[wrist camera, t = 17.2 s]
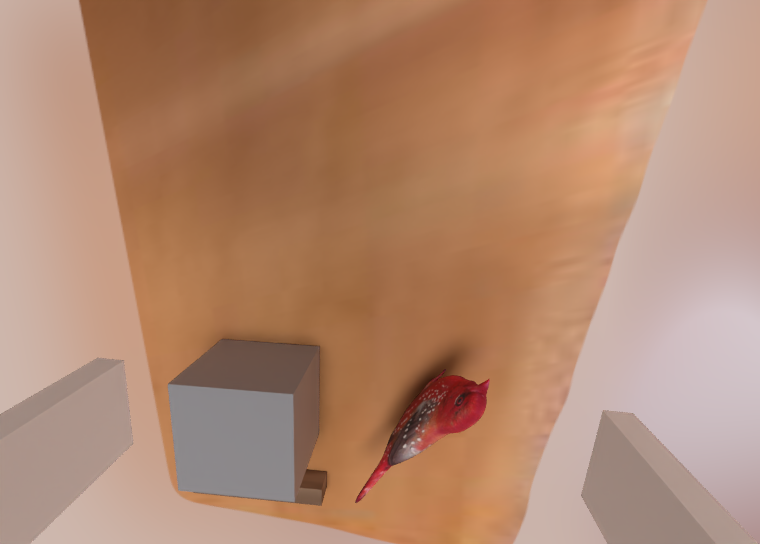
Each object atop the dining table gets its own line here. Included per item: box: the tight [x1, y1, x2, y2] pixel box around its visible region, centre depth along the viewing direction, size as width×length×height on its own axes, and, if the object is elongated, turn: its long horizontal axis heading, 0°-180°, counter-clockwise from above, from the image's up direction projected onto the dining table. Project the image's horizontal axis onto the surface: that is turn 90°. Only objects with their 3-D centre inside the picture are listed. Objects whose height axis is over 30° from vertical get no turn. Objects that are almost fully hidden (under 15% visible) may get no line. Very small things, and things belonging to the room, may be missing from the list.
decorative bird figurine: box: [355, 369, 489, 503], centre depth 33 cm, size 3×18×10 cm, turn 142°
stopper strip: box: [193, 470, 327, 506], centre depth 40 cm, size 2×14×2 cm, turn 87°
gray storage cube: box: [168, 339, 320, 502], centre depth 34 cm, size 10×10×9 cm
